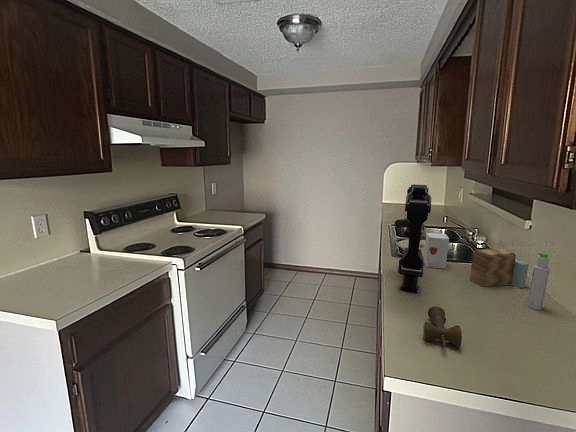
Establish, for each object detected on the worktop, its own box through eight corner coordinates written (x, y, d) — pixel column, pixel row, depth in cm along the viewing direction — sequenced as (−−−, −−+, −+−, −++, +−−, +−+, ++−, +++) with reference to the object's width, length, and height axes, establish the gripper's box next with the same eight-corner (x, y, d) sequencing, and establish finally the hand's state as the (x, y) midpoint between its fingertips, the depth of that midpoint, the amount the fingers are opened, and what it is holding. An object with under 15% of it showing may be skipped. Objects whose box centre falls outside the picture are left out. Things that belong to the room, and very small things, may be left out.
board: (518, 287, 130) (522, 264, 128) (490, 274, 143) (493, 253, 141) (524, 287, 130) (528, 264, 128) (496, 274, 144) (499, 253, 142)
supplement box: (425, 267, 152) (428, 236, 149) (422, 260, 160) (425, 232, 157) (446, 269, 149) (449, 238, 146) (442, 262, 158) (445, 233, 155)
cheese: (435, 261, 165) (418, 238, 174) (439, 255, 159) (422, 231, 167) (409, 272, 163) (393, 248, 171) (413, 266, 157) (396, 241, 165)
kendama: (451, 323, 103) (464, 359, 84) (419, 319, 106) (424, 353, 87) (453, 306, 102) (466, 338, 83) (420, 302, 105) (426, 332, 86)
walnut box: (482, 286, 130) (487, 255, 127) (469, 280, 137) (473, 249, 134) (511, 284, 133) (516, 253, 130) (497, 277, 140) (501, 248, 137)
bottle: (526, 302, 117) (536, 250, 113) (541, 306, 114) (551, 253, 110) (526, 307, 113) (536, 253, 109) (542, 311, 111) (553, 256, 107)
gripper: (400, 208, 148) (397, 240, 151) (392, 215, 132) (389, 251, 135) (426, 211, 143) (423, 244, 146) (421, 218, 127) (417, 256, 130)
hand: (412, 248), depth 139 cm, fingers closed
